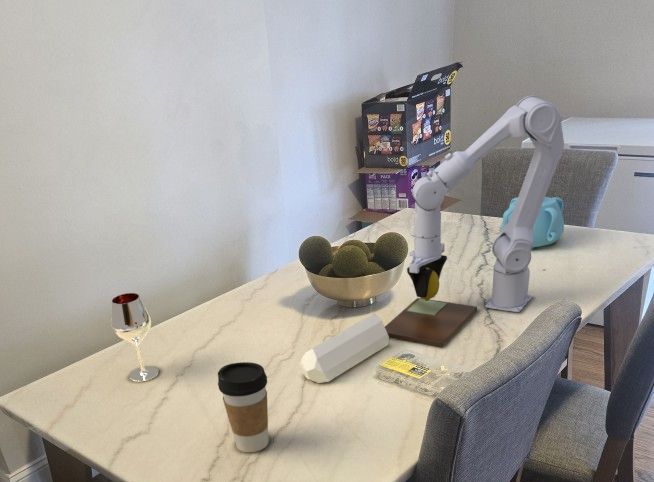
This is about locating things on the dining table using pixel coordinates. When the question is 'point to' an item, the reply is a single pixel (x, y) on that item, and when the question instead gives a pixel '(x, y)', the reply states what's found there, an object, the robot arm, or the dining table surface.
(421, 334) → the board
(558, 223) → the decorative pot
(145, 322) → the wineglass
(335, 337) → the crystal
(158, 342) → the dining table surface
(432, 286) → the lemon
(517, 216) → the robot arm
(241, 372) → the coffee cup
